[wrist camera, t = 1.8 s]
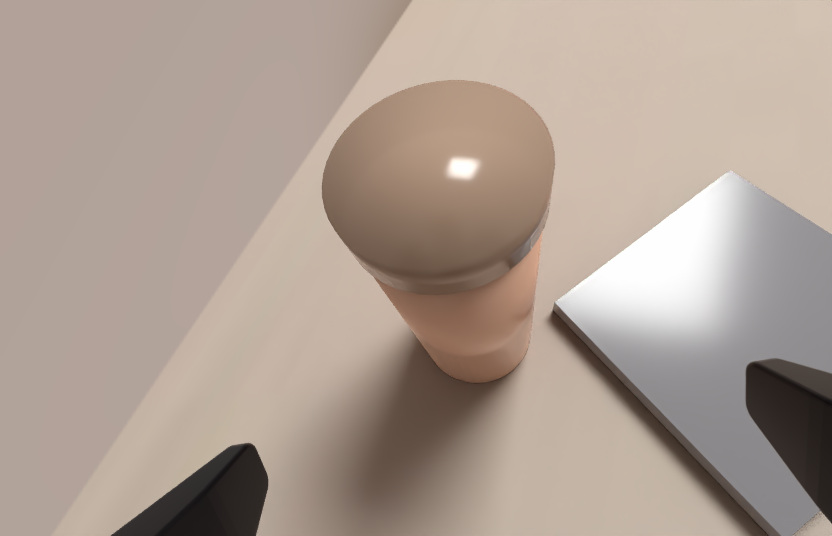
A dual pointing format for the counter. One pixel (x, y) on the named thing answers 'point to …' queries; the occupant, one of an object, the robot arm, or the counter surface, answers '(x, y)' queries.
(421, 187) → the spice jar
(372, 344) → the counter surface
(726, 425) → the coaster
